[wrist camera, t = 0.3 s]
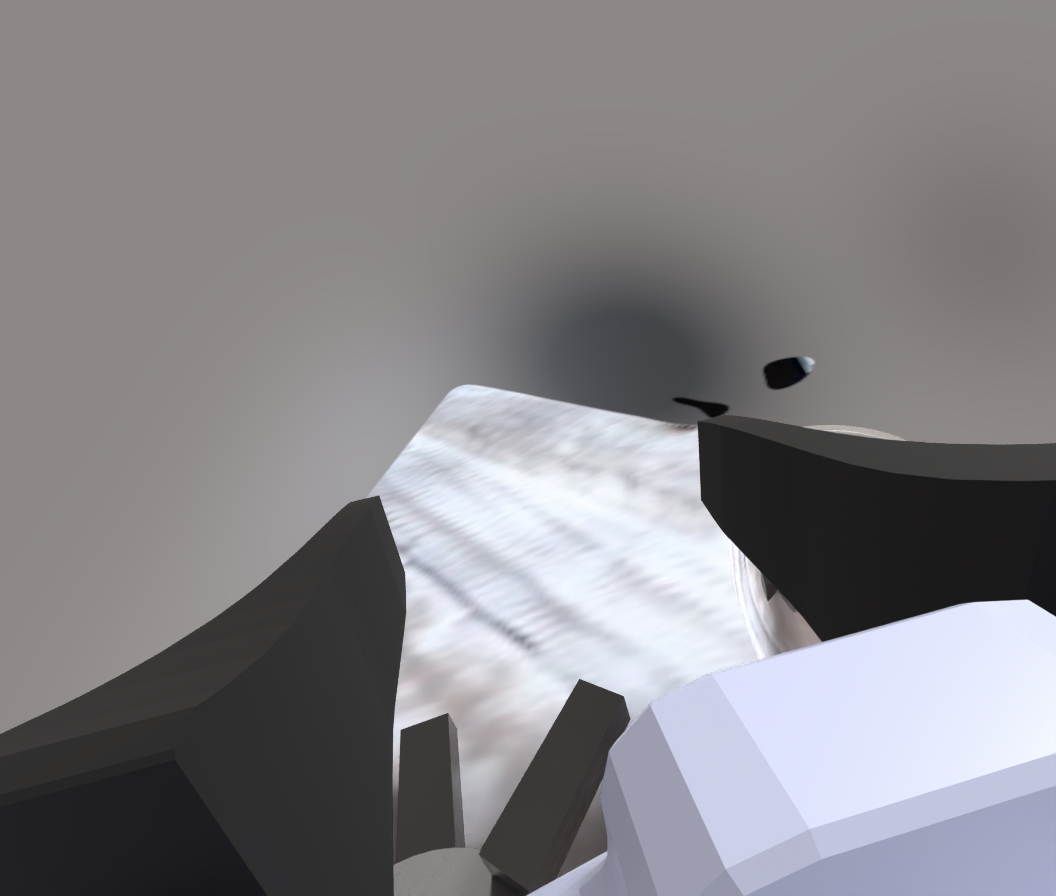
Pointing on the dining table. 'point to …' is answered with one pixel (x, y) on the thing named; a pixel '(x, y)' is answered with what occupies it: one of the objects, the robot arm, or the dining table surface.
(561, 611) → the dining table surface
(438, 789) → the pot
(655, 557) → the dining table surface
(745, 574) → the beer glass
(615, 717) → the lid
